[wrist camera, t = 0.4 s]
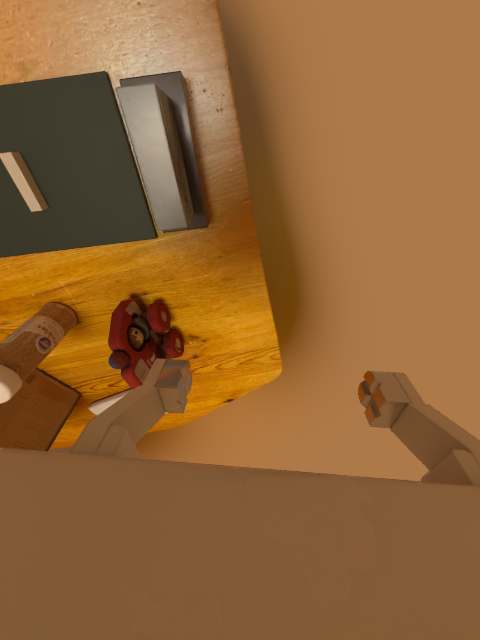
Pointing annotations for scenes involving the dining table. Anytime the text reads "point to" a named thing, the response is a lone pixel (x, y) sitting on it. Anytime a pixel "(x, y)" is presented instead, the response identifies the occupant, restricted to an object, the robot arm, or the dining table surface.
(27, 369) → the sprinkles bottle
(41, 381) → the food packaging
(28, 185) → the chalk stick
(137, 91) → the eraser
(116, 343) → the toy fire truck
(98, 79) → the chalkboard
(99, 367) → the dining table surface
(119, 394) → the hard drive
